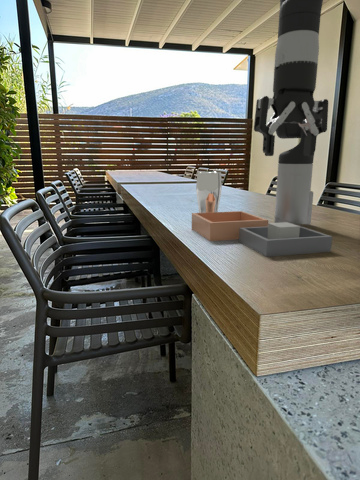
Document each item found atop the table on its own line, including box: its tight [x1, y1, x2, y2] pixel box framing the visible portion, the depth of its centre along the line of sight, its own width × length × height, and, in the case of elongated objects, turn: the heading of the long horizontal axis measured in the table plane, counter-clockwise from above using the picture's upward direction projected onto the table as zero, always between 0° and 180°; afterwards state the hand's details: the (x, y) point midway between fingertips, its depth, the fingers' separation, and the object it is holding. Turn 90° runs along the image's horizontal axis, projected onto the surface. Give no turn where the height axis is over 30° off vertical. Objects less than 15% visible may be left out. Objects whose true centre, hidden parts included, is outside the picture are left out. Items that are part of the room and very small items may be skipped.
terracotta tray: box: [191, 210, 269, 242], centre depth 81 cm, size 14×14×5 cm
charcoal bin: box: [238, 225, 333, 257], centre depth 69 cm, size 14×12×4 cm
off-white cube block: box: [267, 222, 301, 239], centre depth 68 cm, size 4×4×4 cm
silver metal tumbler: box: [195, 171, 223, 213], centre depth 93 cm, size 7×7×15 cm
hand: (288, 156), depth 65 cm, fingers open, 8 cm apart
